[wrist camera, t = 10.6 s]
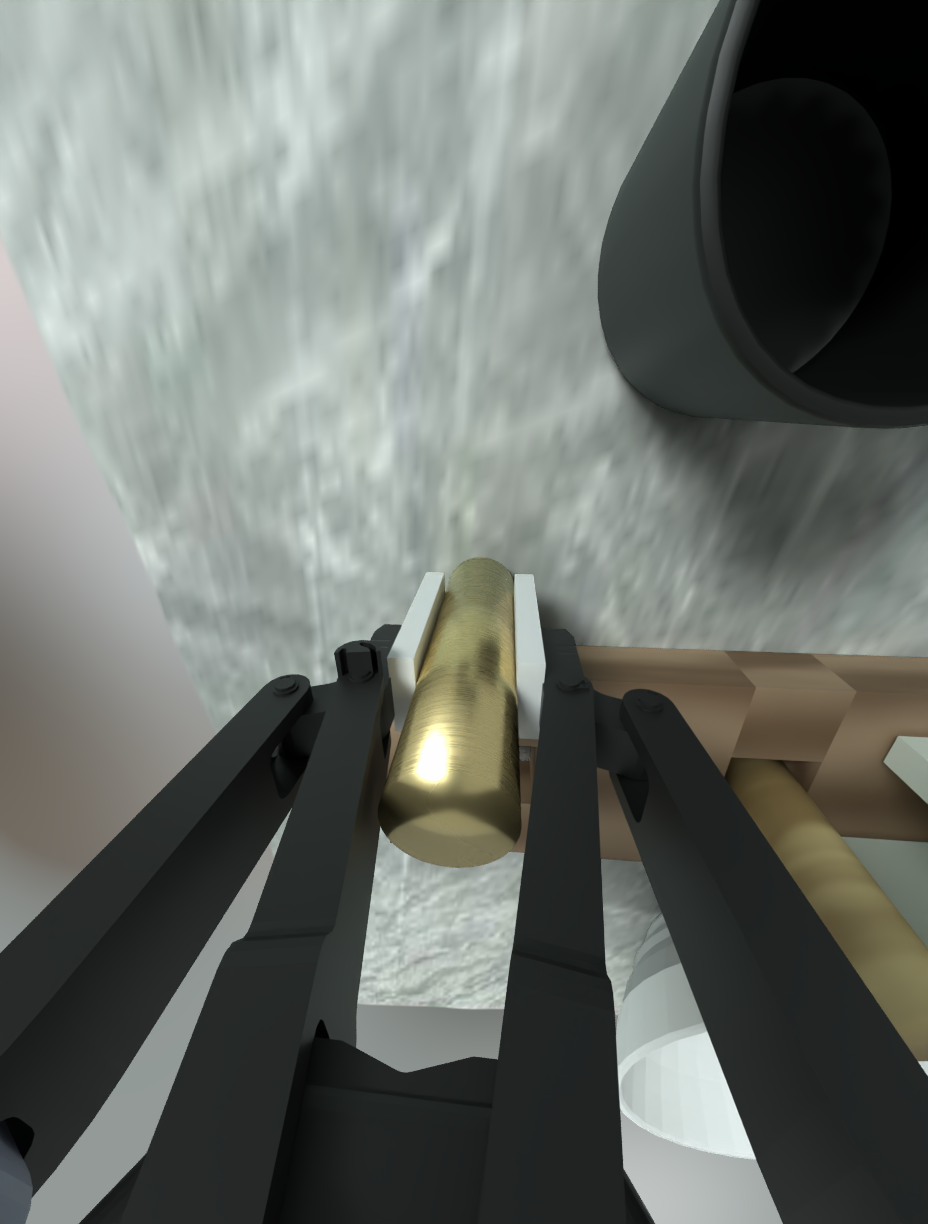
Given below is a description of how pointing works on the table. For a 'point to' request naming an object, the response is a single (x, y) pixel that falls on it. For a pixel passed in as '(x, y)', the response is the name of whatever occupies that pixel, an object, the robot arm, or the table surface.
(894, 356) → the mug
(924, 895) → the housing
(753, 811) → the wooden slotted block
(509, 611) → the pin
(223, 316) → the table surface
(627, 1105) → the bowl
